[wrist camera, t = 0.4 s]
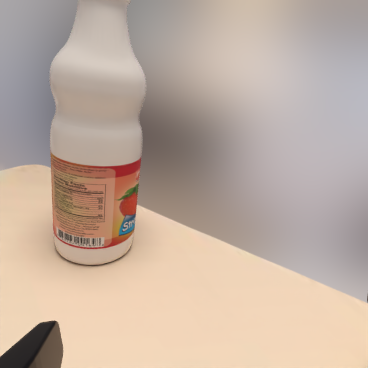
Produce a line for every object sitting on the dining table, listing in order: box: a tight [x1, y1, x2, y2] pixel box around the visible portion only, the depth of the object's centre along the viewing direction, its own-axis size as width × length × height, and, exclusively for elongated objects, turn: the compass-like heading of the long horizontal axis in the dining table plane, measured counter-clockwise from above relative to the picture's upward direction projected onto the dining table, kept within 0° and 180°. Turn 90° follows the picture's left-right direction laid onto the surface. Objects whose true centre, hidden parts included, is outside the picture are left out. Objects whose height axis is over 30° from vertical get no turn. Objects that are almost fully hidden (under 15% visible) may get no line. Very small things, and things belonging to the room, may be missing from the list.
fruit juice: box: [50, 0, 146, 265], centre depth 30 cm, size 9×9×28 cm
